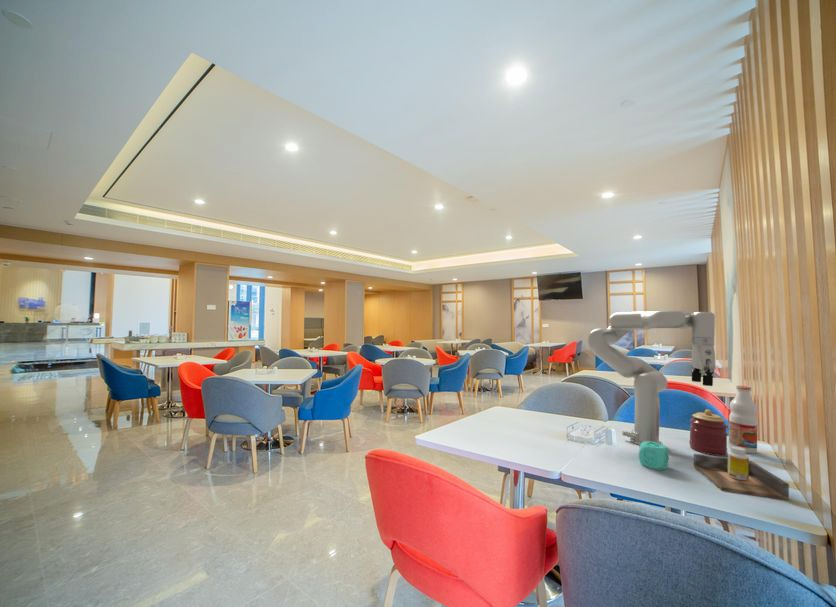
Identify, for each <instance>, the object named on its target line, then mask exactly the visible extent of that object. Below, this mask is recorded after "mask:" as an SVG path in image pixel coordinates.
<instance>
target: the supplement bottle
mask: <svg viewBox="0 0 836 607" xmlns="http://www.w3.org/2000/svg"><path fill="white" fill-rule="evenodd" d="M727 458H728V475H729V476H730V477H732V478H735V479H738V480H748V474H749V461H750V460H749V459H750V458H749V456H748V455H747V453H746V450H745V449H744V448H741V447H735V446H732V447H731V448H730V451H727Z"/></svg>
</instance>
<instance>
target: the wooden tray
mask: <svg viewBox="0 0 836 607" xmlns="http://www.w3.org/2000/svg"><path fill="white" fill-rule="evenodd" d="M694 467H695V468H694ZM693 468H694V469H696V471H698V472H699V471H700V472H701V473H702V475H703V476H704V475H705V476H706V477H707V478H708V479H707V478H706V477H705V476H704V477H705V478H706V479H707V480H709V481H710V482H711V483H712V482H713V483H714V484H715V485H714V484H713V483H712V484H713V485H714V486H715V487H716V488H718V489H719V488H720V489H721V490H720V489H719V490H720V491H723V490H726V491H725V492H730V491H733V492H732V493H737V492H739V493H738V494H744V495H752V496H758V497H764V498H765V497H766V498H771V499H778V500H779V499H780V500H785V501H789V499H790V498H789V495H790V493H789V492H790V484H789V482H786V481H784V480H783V479H781V478H780V477H778V476H776V475H775V474H773V473H771V472H770V471H768V470H766V469H765V468H763V467H762V466H760V464H759V465H758V464H757V463H755V462H754V461H752V460H749V474H748V480H738V479H735V478H732V477H730V476H729V475H728V457H724V456H723V457H722V456H718V455H710V454H699V453H693ZM700 472H699V473H700Z"/></svg>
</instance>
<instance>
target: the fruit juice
mask: <svg viewBox="0 0 836 607" xmlns="http://www.w3.org/2000/svg"><path fill="white" fill-rule="evenodd" d="M735 389H736V393H735V397H734V398H733V399H732V400H731V401H730V402H729V408H730V413H729V416H728V447H729V448H730V449H731V447H732V446H735V447H741V448H744V449H745V450H746V454H752V455H753V454H757V452H758V417H757V416H756V415H757V412H758V406H757V404H756V403H755V402H754V401H753V398H752V395H751V391H752V387H750V386H748V385H747V386H745V385H736V387H735Z"/></svg>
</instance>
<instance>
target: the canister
mask: <svg viewBox="0 0 836 607" xmlns="http://www.w3.org/2000/svg"><path fill="white" fill-rule="evenodd" d="M691 416H692V418H690V419H689V422H690V426H689V447H690V448H691V449H692V450H694V449H695V450H694V451H697V452H700V451H701V452H700V453H703V452H705V453H704V454H707V453H709V454H708V455H712V454H714V455H713V456H725V455H727V454H728V447H727V446H728V433H727V428H729V425H727V424H726V423H725V422H726V419H725V418H723V417H721V415H718V414H716V413H715V414H714V413H713V411H712V410H711V409H705V410H704V412H698V411H697V412H696V413H694V414H692V415H691Z"/></svg>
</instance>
